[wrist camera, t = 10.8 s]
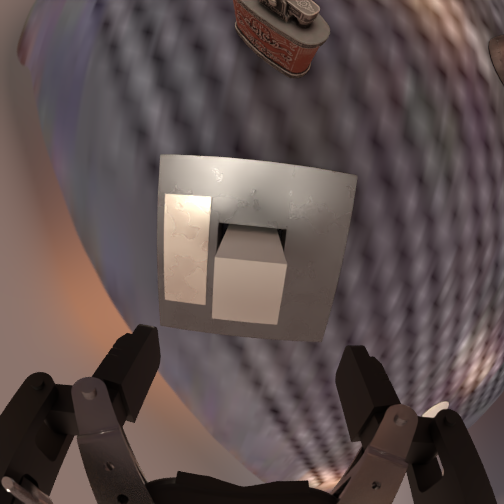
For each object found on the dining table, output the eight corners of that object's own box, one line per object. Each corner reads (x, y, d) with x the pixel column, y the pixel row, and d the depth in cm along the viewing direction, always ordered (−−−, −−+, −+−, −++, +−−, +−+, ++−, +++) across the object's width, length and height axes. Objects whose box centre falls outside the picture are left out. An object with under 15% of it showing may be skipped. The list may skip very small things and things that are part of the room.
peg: (276, 226, 24) (286, 264, 15) (270, 269, 25) (276, 324, 16) (230, 222, 24) (214, 256, 15) (226, 265, 25) (212, 318, 16)
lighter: (318, 65, 19) (353, 13, 9) (290, 85, 20) (312, 37, 10) (255, 11, 17) (253, -55, 8) (226, 30, 18) (210, -34, 8)
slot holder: (345, 173, 22) (358, 175, 19) (316, 324, 27) (322, 343, 24) (172, 155, 22) (159, 154, 19) (169, 309, 26) (160, 326, 23)
